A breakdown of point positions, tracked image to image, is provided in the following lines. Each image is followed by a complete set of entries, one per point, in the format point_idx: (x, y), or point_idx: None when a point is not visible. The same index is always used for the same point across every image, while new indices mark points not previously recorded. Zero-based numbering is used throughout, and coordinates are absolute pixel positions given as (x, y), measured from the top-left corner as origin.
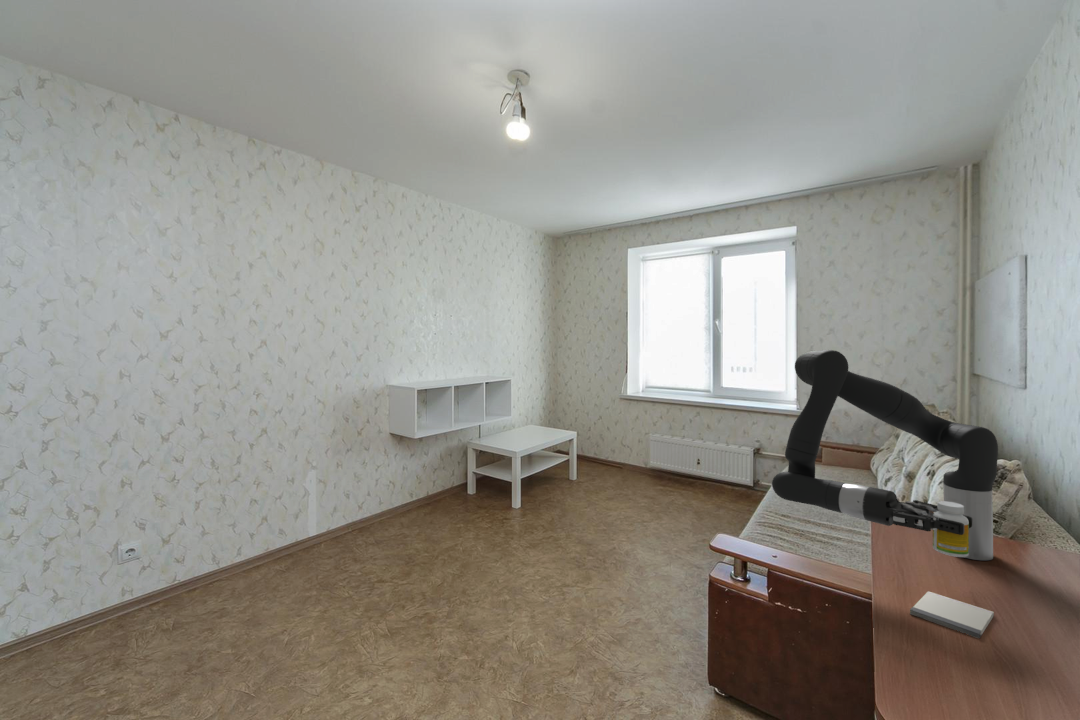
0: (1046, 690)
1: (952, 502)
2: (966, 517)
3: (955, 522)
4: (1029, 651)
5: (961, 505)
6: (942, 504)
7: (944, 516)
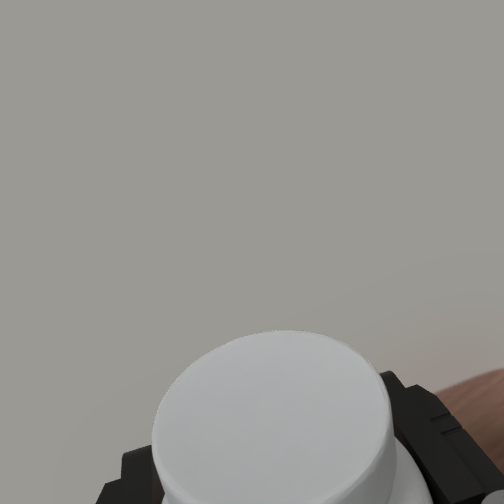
0: (493, 400)
1: (171, 435)
2: (152, 469)
3: (409, 394)
4: None
5: (219, 355)
6: (387, 406)
7: (406, 468)
